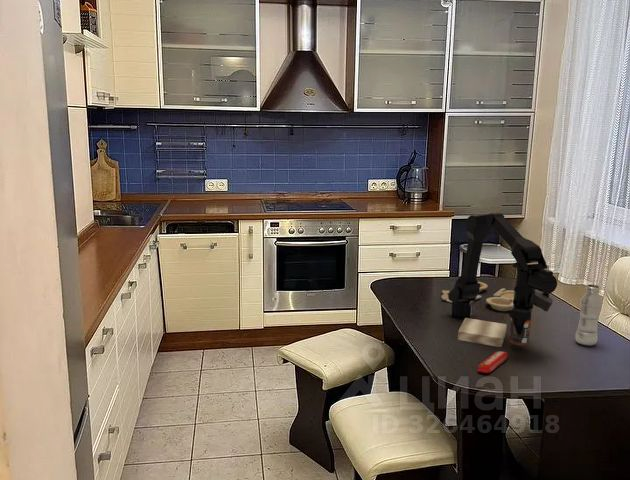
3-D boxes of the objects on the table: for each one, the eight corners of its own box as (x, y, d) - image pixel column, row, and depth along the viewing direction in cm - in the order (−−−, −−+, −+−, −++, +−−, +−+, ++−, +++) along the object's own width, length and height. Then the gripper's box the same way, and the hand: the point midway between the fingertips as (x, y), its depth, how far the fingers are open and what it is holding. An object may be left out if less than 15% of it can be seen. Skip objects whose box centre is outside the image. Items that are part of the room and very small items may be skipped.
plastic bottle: (570, 340, 191) (577, 283, 186) (589, 340, 191) (597, 283, 187) (580, 348, 185) (588, 289, 180) (600, 347, 185) (609, 289, 181)
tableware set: (538, 297, 236) (539, 288, 235) (523, 318, 212) (524, 308, 211) (455, 283, 254) (456, 274, 253) (432, 301, 229) (433, 291, 228)
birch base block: (457, 339, 190) (458, 331, 189) (464, 325, 202) (465, 317, 202) (501, 347, 184) (502, 338, 184) (505, 332, 197) (506, 324, 196)
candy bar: (497, 356, 178) (498, 347, 178) (508, 359, 176) (509, 350, 175) (475, 373, 166) (476, 364, 165) (487, 377, 164) (488, 367, 163)
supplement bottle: (529, 347, 179) (533, 313, 177) (510, 345, 181) (513, 311, 178) (527, 340, 185) (530, 307, 183) (507, 338, 186) (511, 305, 184)
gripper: (551, 296, 167) (545, 346, 170) (553, 279, 184) (548, 325, 187) (511, 291, 171) (506, 339, 175) (517, 275, 188) (512, 319, 191)
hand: (519, 330), depth 182 cm, fingers closed on supplement bottle, 6 cm apart
